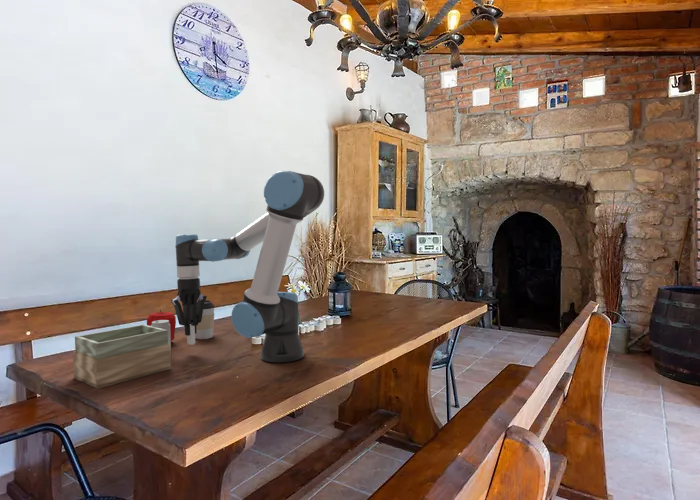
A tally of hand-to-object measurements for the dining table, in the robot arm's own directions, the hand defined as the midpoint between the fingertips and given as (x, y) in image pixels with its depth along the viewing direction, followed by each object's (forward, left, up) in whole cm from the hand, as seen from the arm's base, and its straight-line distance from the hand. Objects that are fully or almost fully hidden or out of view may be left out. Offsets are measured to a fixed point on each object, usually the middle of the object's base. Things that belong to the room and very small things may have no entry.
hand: (191, 343), depth 159 cm
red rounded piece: (+21, -1, -4) cm, 22 cm away
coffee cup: (+17, -17, -4) cm, 25 cm away
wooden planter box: (-3, +25, -4) cm, 25 cm away
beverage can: (+8, +7, -4) cm, 11 cm away
